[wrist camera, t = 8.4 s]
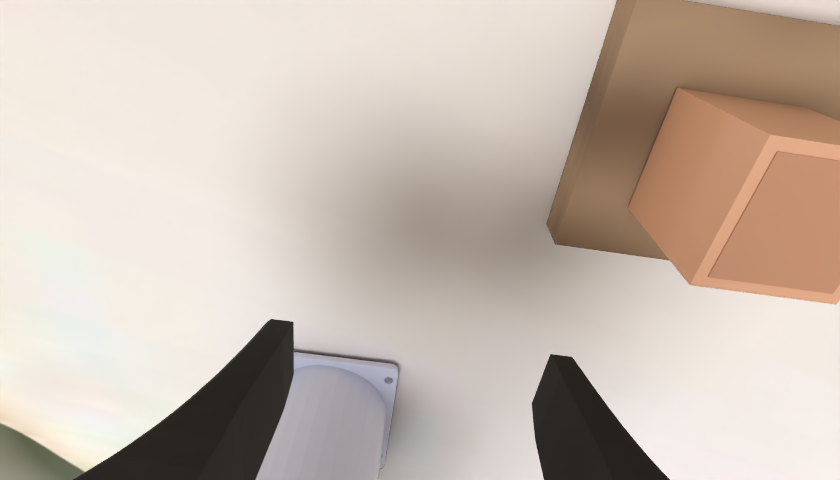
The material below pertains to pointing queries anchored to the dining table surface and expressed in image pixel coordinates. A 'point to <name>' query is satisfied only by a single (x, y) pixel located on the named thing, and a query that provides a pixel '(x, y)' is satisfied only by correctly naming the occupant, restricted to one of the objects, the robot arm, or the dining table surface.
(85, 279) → the dining table surface
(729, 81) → the walnut board
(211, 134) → the dining table surface
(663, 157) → the terracotta block
